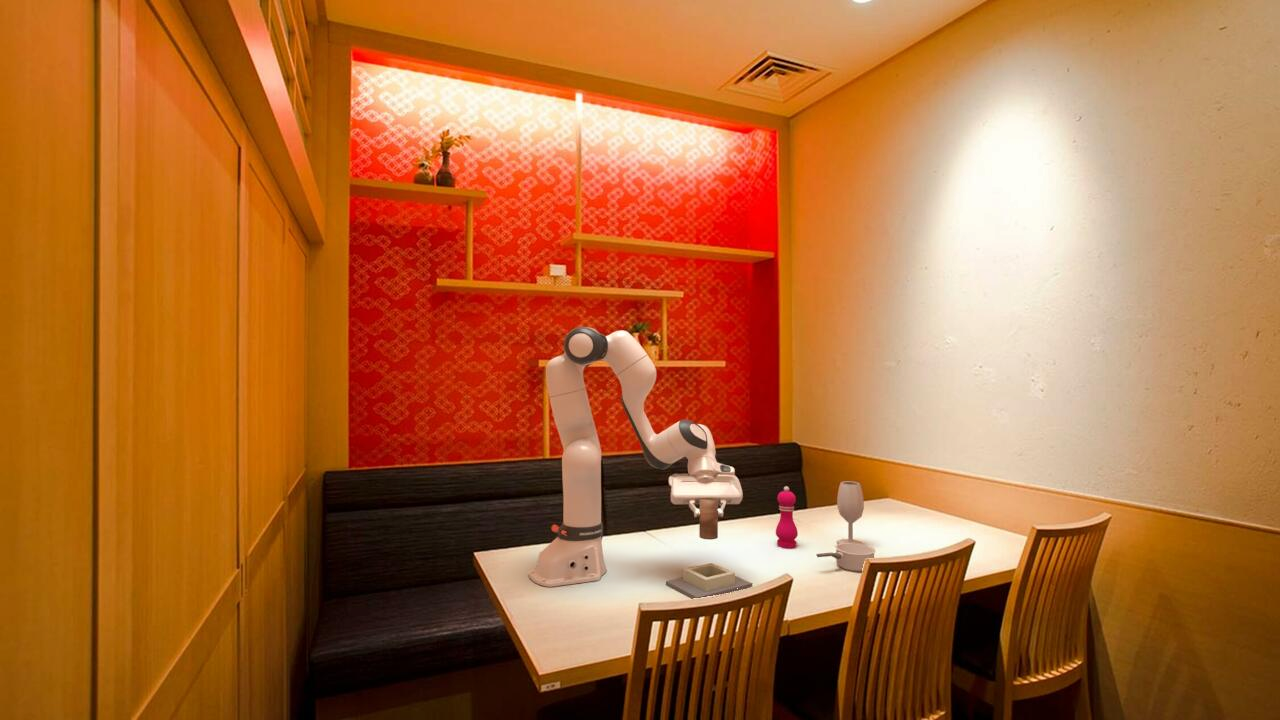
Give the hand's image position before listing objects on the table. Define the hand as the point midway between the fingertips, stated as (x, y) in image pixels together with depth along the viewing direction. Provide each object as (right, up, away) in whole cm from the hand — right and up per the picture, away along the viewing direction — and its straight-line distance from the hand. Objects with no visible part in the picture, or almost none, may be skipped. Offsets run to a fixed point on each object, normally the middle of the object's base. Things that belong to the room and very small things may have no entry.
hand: (709, 515), depth 162 cm
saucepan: (+42, -20, +14) cm, 49 cm away
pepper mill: (+31, -20, +37) cm, 52 cm away
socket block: (0, -19, 0) cm, 19 cm away
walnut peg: (0, -6, 0) cm, 6 cm away
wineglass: (+52, -20, +38) cm, 68 cm away
